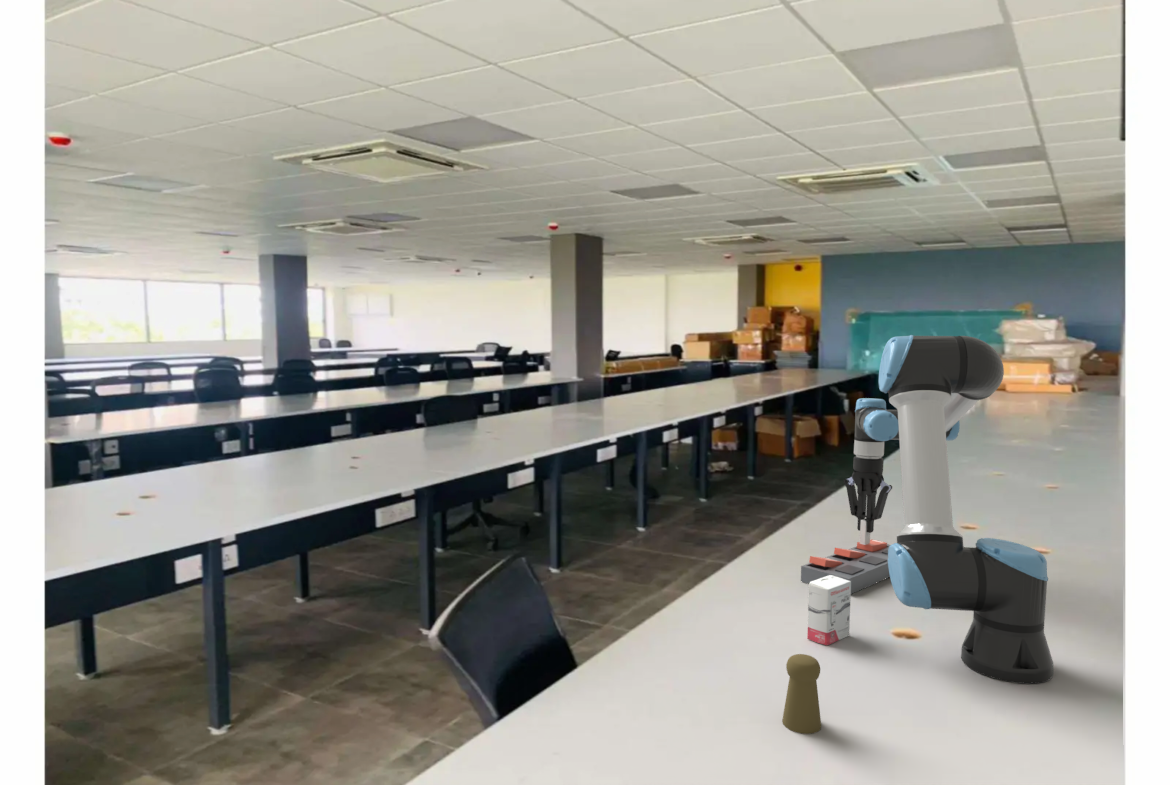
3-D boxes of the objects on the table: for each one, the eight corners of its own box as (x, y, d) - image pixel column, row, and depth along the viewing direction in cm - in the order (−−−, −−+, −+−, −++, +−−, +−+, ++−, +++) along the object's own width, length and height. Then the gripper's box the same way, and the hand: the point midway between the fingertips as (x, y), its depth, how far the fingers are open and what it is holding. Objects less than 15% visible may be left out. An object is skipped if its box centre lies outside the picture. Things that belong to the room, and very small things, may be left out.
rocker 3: (886, 548, 208) (887, 542, 208) (872, 551, 203) (872, 545, 203) (871, 545, 212) (872, 539, 212) (856, 548, 207) (857, 542, 206)
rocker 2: (864, 559, 201) (865, 553, 201) (849, 557, 196) (850, 550, 196) (849, 555, 204) (850, 549, 204) (833, 553, 199) (834, 547, 199)
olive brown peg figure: (814, 714, 126) (815, 649, 125) (826, 733, 120) (828, 665, 119) (777, 714, 125) (779, 649, 124) (788, 734, 119) (790, 666, 118)
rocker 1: (841, 568, 193) (842, 561, 193) (824, 566, 188) (825, 559, 188) (825, 564, 197) (826, 557, 197) (809, 562, 191) (810, 555, 192)
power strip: (931, 559, 210) (932, 544, 210) (848, 595, 181) (848, 577, 181) (886, 549, 220) (887, 534, 219) (800, 581, 191) (801, 564, 191)
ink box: (826, 646, 152) (828, 588, 151) (805, 639, 156) (807, 582, 155) (850, 635, 158) (852, 579, 157) (829, 628, 161) (831, 574, 160)
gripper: (899, 458, 201) (894, 546, 203) (853, 452, 211) (849, 536, 212) (885, 461, 196) (881, 551, 198) (838, 454, 206) (835, 540, 207)
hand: (864, 543), depth 205 cm, fingers closed
